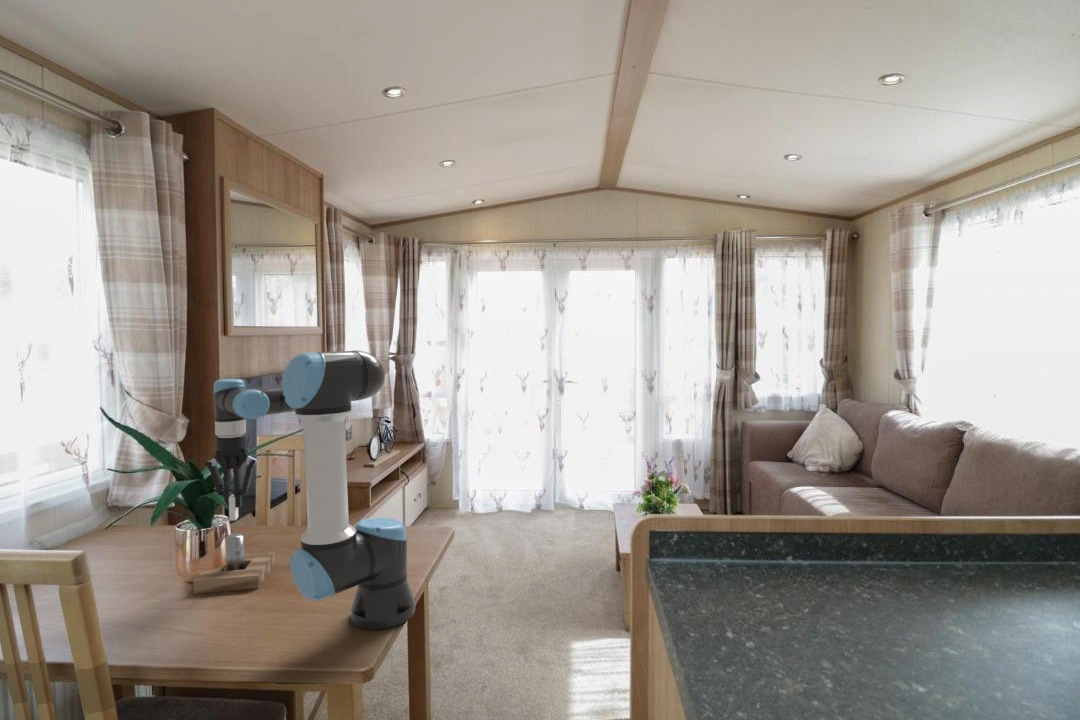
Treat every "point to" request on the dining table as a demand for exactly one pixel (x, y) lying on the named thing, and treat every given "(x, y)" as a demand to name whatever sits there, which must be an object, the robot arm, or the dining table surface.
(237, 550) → the grey metal peg
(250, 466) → the robot arm
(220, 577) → the jig
